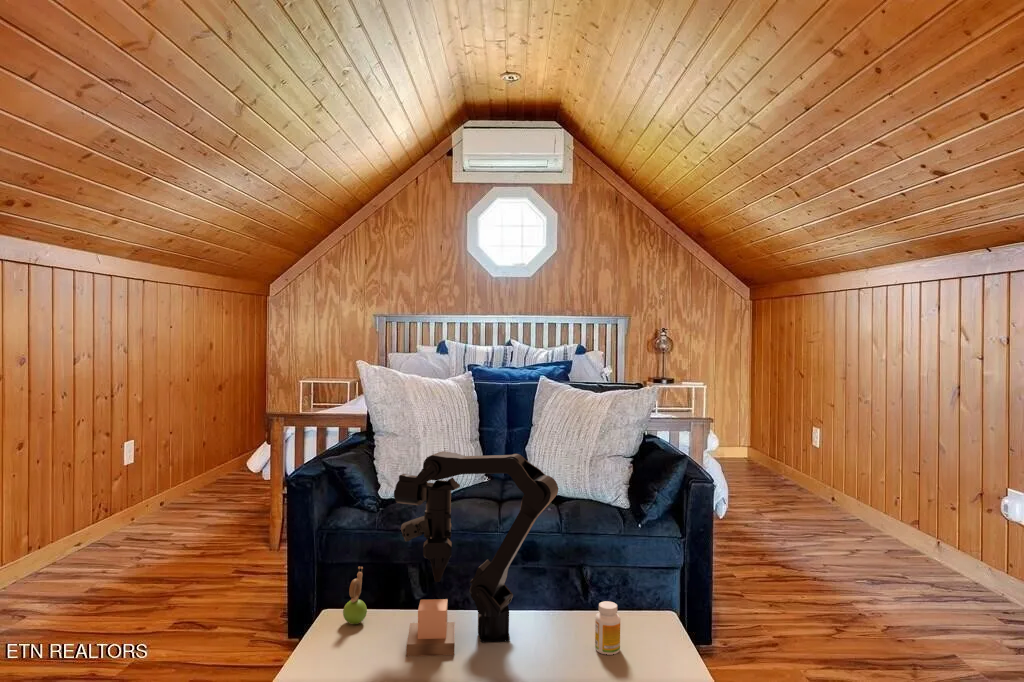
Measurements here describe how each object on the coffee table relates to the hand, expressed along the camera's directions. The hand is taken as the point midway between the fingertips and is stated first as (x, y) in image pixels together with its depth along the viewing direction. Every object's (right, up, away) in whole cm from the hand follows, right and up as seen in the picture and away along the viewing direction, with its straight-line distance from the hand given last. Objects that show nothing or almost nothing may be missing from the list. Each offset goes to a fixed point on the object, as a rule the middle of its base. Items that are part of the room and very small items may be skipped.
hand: (437, 574), depth 150 cm
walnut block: (0, -13, -9) cm, 15 cm away
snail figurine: (-19, -12, +1) cm, 23 cm away
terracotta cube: (0, -10, -9) cm, 13 cm away
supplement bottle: (+38, -13, -10) cm, 41 cm away
